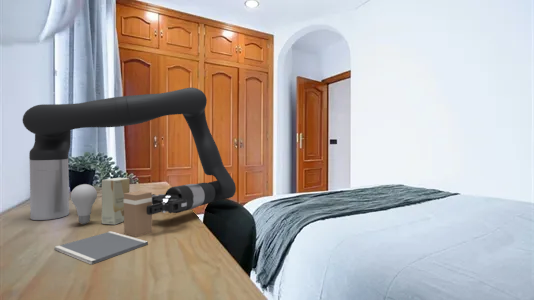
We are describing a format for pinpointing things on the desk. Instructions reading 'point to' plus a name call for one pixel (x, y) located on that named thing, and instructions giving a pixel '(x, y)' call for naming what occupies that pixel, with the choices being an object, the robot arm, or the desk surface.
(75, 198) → the lightbulb
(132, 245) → the mat
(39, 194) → the robot arm
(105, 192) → the skincare box
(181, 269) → the desk surface
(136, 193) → the card box
